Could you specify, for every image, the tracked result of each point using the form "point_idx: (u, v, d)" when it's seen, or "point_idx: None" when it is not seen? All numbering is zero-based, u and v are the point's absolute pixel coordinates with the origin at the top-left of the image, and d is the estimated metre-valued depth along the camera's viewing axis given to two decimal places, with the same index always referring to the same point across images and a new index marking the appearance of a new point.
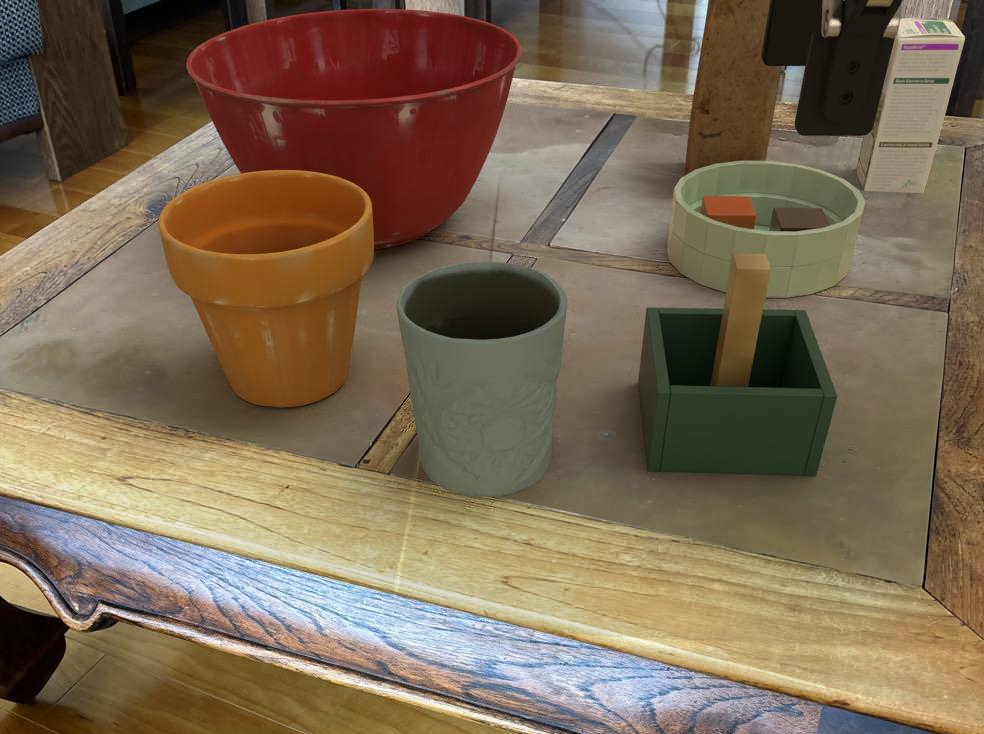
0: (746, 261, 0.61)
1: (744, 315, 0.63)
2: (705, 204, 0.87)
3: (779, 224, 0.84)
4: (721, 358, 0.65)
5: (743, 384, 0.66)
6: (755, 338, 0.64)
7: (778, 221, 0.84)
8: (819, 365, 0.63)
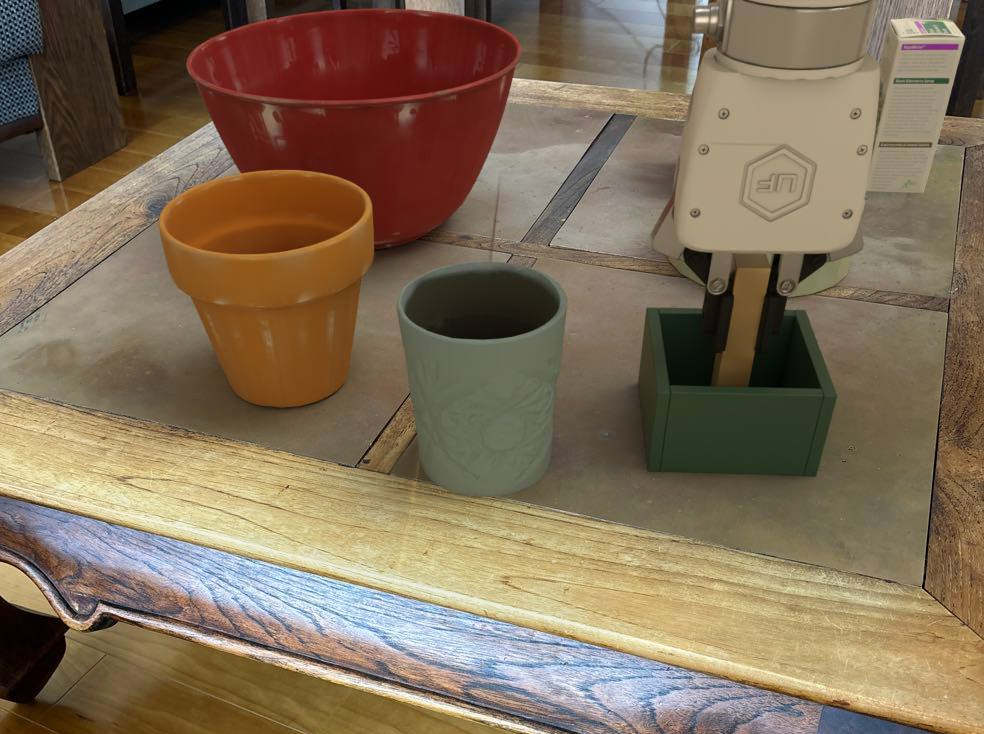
0: (746, 261, 0.61)
1: (744, 315, 0.63)
2: None
3: None
4: (721, 358, 0.65)
5: (743, 384, 0.66)
6: (755, 338, 0.64)
7: None
8: (819, 365, 0.63)
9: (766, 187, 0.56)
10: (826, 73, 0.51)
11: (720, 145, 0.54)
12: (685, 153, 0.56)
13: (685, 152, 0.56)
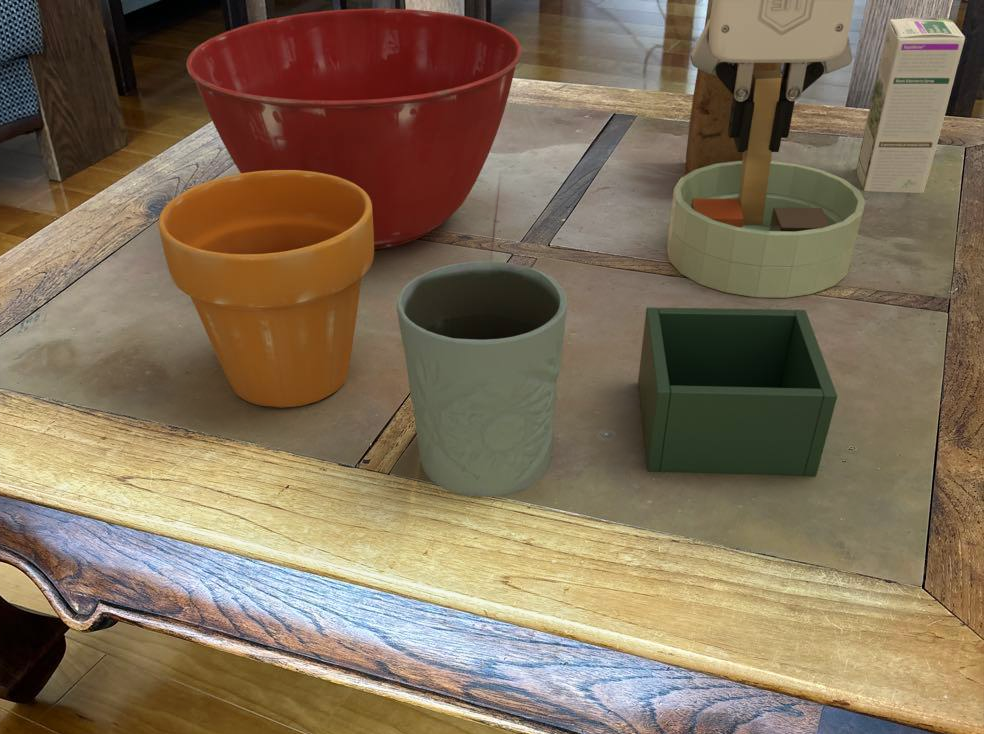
0: (762, 74, 0.81)
1: (762, 119, 0.82)
2: (693, 206, 0.87)
3: (779, 224, 0.84)
4: (746, 157, 0.84)
5: (764, 179, 0.85)
6: None
7: (778, 221, 0.84)
8: (819, 365, 0.63)
9: (778, 6, 0.75)
10: None
11: None
12: None
13: None
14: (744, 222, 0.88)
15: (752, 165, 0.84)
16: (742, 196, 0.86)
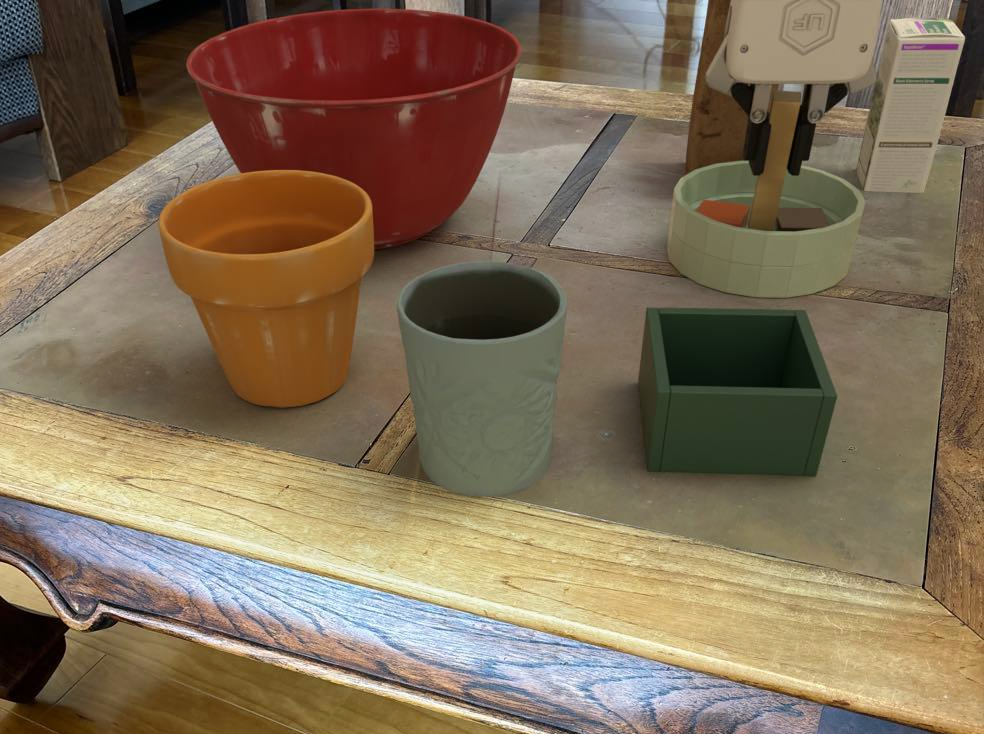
0: (782, 96, 0.77)
1: (777, 142, 0.78)
2: None
3: (779, 224, 0.84)
4: (758, 179, 0.81)
5: (775, 203, 0.82)
6: (786, 163, 0.79)
7: (778, 221, 0.84)
8: (819, 365, 0.63)
9: (800, 25, 0.72)
10: None
11: None
12: (737, 0, 0.72)
13: None
14: None
15: (763, 187, 0.81)
16: (751, 217, 0.83)
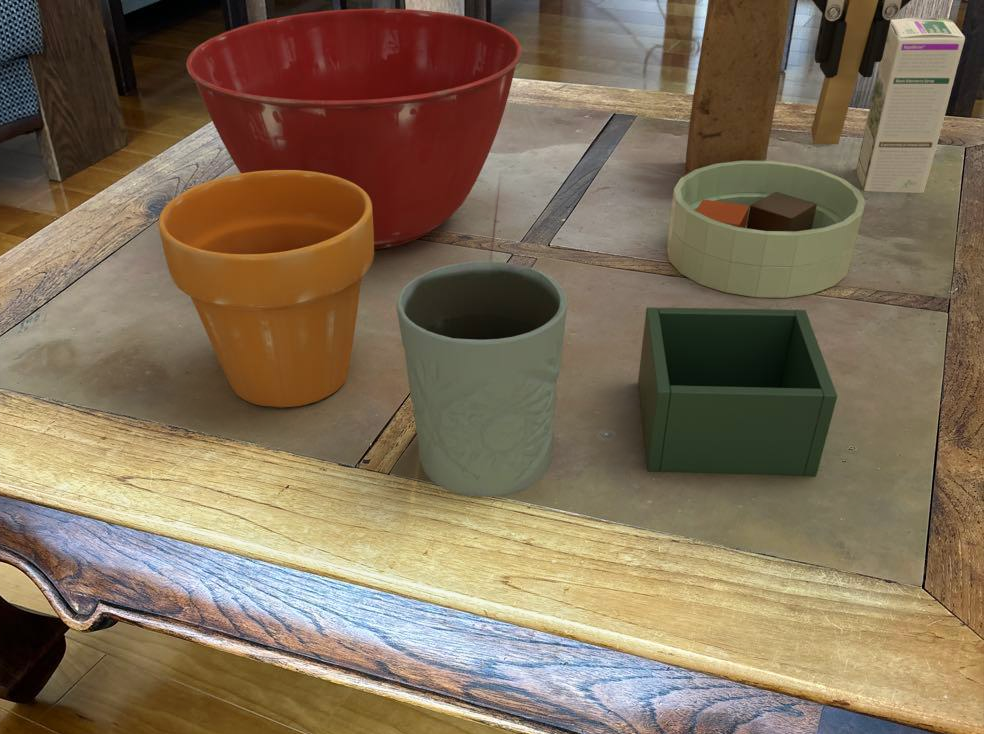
0: None
1: (853, 36, 0.77)
2: (698, 207, 0.87)
3: (755, 203, 0.87)
4: None
5: (846, 99, 0.80)
6: (860, 57, 0.78)
7: (758, 201, 0.87)
8: (819, 365, 0.63)
9: None
10: None
11: None
12: None
13: None
14: (819, 141, 0.83)
15: (836, 84, 0.80)
16: (821, 115, 0.82)
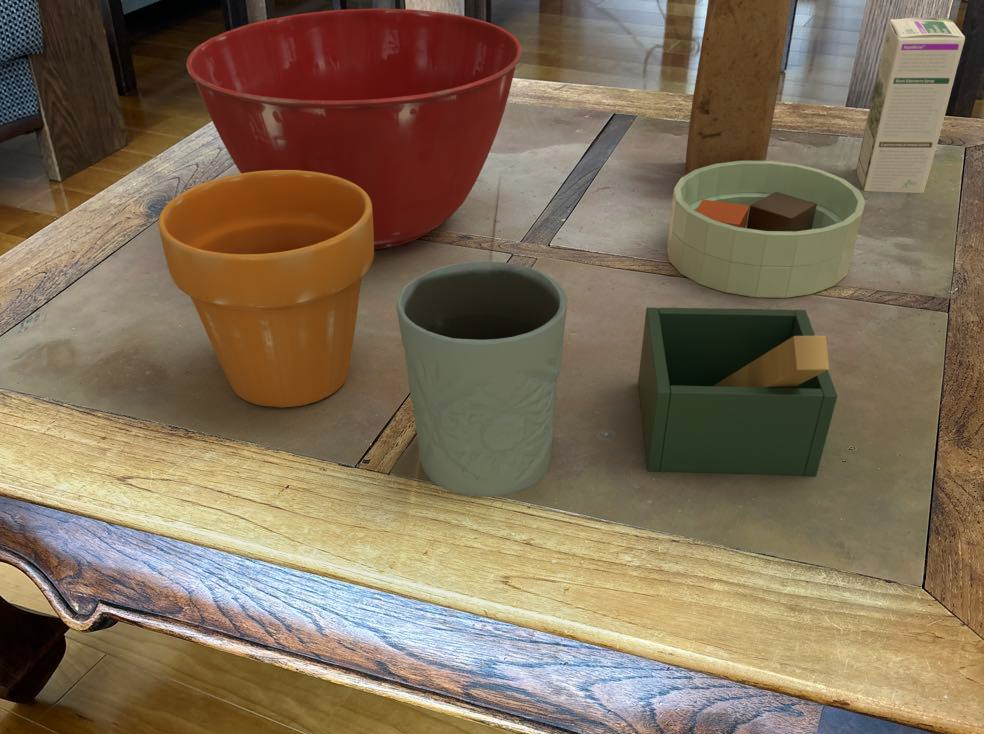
0: (806, 354, 0.58)
1: (786, 383, 0.61)
2: (698, 207, 0.87)
3: (755, 203, 0.87)
4: None
5: None
6: None
7: (758, 201, 0.87)
8: None
9: None
10: None
11: None
12: None
13: None
14: None
15: None
16: None
